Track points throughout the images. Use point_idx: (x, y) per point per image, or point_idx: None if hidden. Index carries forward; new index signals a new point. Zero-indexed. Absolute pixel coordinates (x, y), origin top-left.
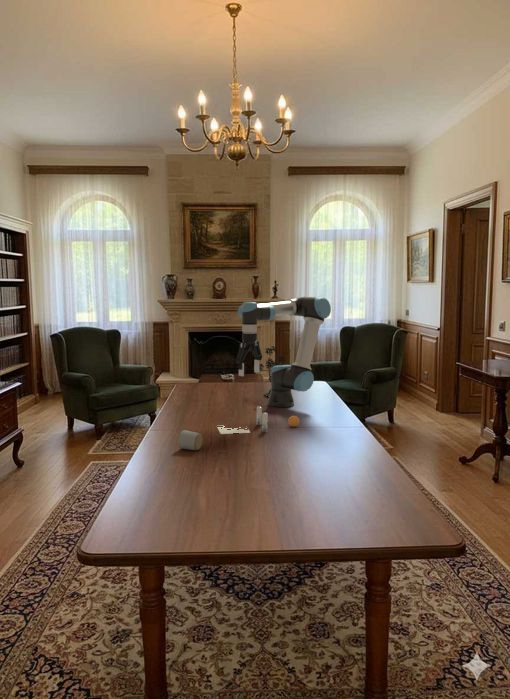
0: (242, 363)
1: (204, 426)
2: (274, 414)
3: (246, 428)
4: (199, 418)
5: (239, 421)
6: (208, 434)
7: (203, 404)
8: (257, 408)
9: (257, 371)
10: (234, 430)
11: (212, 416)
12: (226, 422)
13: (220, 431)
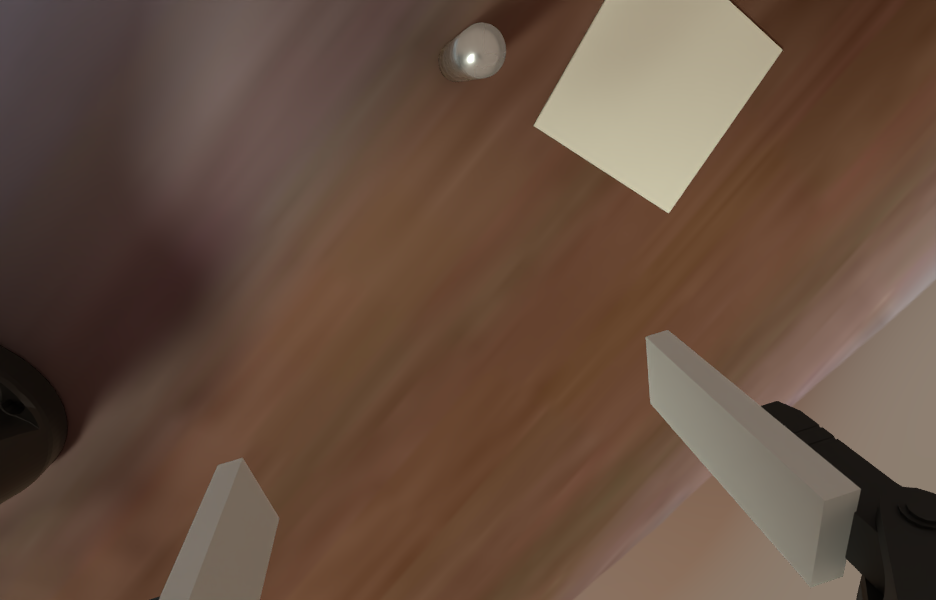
0: (856, 498)
1: (709, 248)
2: (172, 218)
3: (593, 36)
4: (615, 386)
5: (500, 217)
6: (815, 100)
7: (421, 581)
8: (503, 50)
9: (245, 487)
10: (678, 53)
11: (541, 386)
12: (572, 245)
13: (743, 97)
